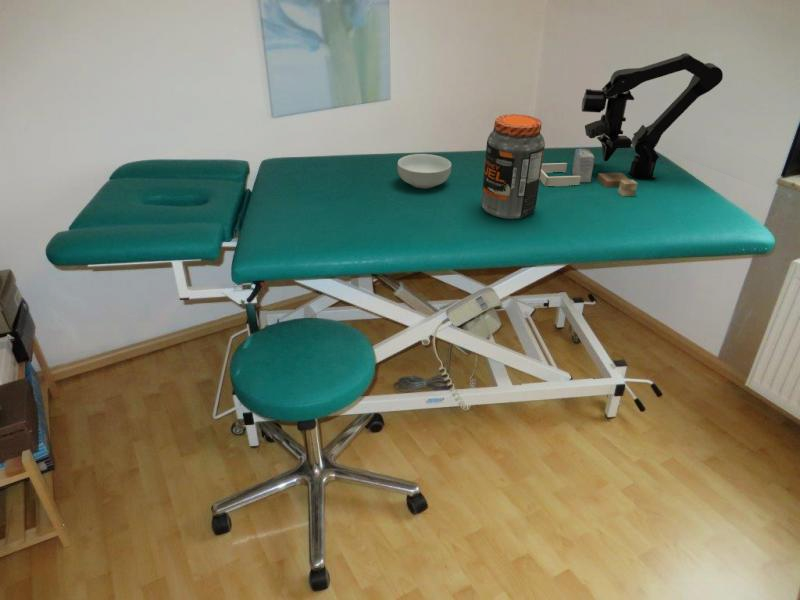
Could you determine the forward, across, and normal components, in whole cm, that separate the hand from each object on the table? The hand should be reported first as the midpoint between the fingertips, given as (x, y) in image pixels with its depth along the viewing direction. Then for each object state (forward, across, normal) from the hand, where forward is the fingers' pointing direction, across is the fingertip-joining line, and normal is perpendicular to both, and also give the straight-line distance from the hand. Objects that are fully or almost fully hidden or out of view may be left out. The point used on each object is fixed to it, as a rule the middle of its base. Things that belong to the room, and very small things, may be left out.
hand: (605, 160), depth 198 cm
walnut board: (+5, +8, 0) cm, 10 cm away
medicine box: (+4, +4, -9) cm, 11 cm away
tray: (+4, +4, -18) cm, 18 cm away
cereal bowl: (+4, +4, -61) cm, 61 cm away
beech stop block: (+4, +18, 0) cm, 18 cm away
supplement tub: (+4, +26, -40) cm, 48 cm away
